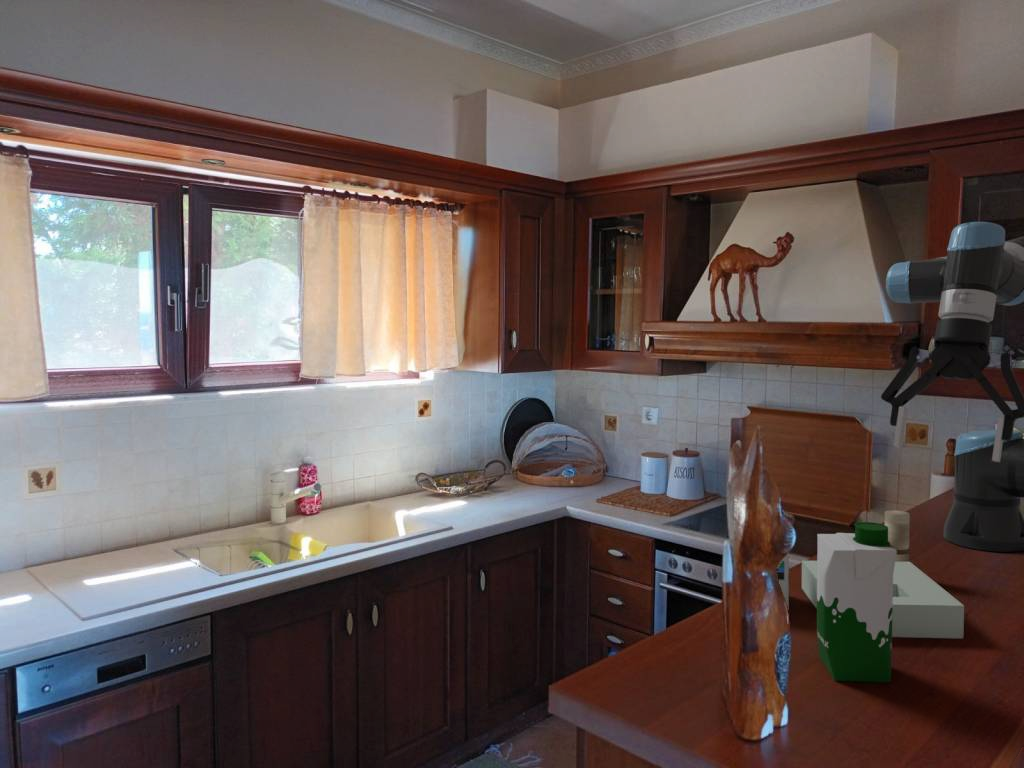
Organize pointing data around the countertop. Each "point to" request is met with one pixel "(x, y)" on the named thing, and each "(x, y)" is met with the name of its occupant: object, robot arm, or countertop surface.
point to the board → (910, 603)
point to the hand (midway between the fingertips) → (944, 454)
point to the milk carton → (856, 603)
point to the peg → (898, 533)
